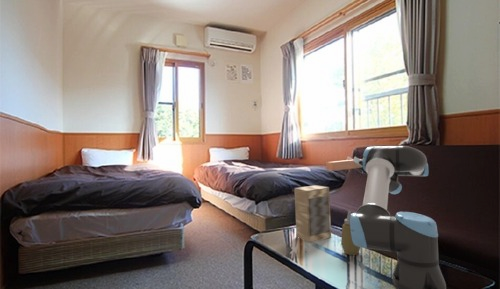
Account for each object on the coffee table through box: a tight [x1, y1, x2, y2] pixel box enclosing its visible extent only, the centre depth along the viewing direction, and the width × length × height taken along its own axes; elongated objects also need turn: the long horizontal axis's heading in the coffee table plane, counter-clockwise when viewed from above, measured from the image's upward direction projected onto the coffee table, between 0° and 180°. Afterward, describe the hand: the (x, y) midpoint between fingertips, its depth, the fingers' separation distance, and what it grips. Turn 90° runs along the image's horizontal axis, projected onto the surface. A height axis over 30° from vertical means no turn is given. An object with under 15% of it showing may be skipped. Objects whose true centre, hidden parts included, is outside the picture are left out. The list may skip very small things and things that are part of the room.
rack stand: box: [293, 184, 332, 244], centre depth 146 cm, size 14×10×25 cm
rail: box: [325, 158, 363, 172], centre depth 146 cm, size 22×4×4 cm, turn 116°
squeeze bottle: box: [340, 210, 361, 256], centre depth 125 cm, size 8×8×18 cm
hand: (350, 158), depth 148 cm, fingers closed on rail, 4 cm apart
